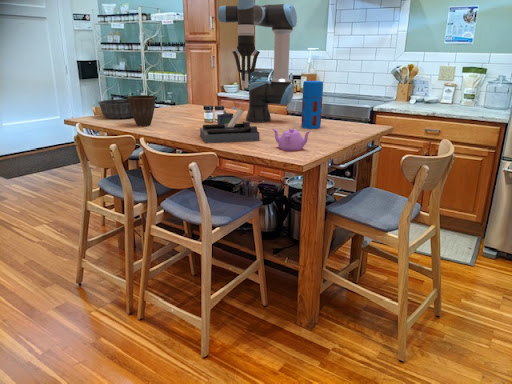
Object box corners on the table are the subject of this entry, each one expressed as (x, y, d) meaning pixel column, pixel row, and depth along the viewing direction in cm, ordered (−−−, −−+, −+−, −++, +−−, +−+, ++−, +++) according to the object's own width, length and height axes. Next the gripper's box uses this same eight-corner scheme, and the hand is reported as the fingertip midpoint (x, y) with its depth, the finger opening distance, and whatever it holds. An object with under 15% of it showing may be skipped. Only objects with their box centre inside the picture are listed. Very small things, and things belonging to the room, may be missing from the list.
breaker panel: (250, 133, 215) (250, 121, 212) (259, 140, 198) (259, 127, 196) (200, 135, 208) (199, 123, 206) (205, 143, 192) (205, 129, 190)
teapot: (310, 150, 181) (311, 130, 178) (281, 152, 176) (281, 132, 174) (299, 144, 191) (299, 125, 188) (271, 146, 187) (271, 127, 184)
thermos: (322, 126, 236) (325, 81, 227) (317, 129, 226) (320, 82, 218) (304, 124, 240) (306, 80, 232) (298, 127, 231) (300, 81, 222)
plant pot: (151, 122, 243) (149, 94, 238) (161, 126, 232) (159, 97, 226) (126, 124, 235) (123, 96, 230) (135, 128, 223) (133, 98, 218)
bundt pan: (90, 118, 254) (88, 102, 251) (119, 112, 277) (117, 97, 274) (125, 121, 245) (123, 104, 241) (152, 115, 268) (150, 99, 264)
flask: (218, 131, 219) (218, 111, 215) (216, 130, 221) (215, 110, 217) (234, 130, 223) (233, 110, 219) (231, 129, 225) (231, 109, 222)
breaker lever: (228, 129, 204) (243, 108, 203) (230, 131, 200) (245, 109, 198) (225, 127, 204) (240, 106, 202) (227, 129, 199) (242, 107, 197)
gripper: (257, 35, 194) (257, 86, 202) (230, 34, 191) (231, 87, 199) (261, 35, 188) (261, 88, 196) (233, 34, 185) (234, 88, 193)
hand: (246, 87), depth 197 cm, fingers closed
